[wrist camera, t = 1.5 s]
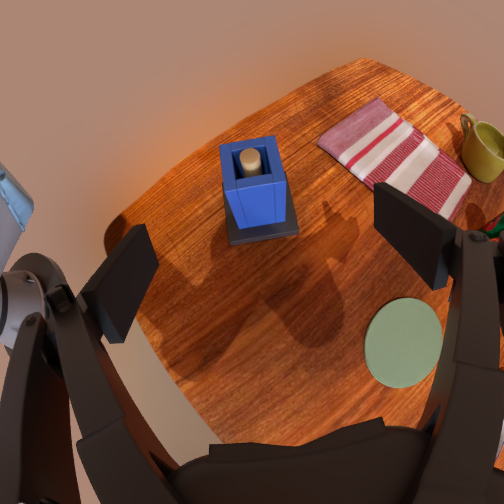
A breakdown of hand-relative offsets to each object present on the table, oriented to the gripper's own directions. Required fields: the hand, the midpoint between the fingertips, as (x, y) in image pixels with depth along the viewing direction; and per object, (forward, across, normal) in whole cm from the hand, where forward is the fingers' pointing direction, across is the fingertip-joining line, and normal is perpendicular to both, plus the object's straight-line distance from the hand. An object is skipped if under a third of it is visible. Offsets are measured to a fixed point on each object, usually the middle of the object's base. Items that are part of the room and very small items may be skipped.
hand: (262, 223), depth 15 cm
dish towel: (+25, +24, -4) cm, 35 cm away
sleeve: (+21, 0, -6) cm, 22 cm away
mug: (+26, +42, -4) cm, 49 cm away
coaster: (+7, +16, -22) cm, 28 cm away
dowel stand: (+22, 0, -7) cm, 23 cm away
